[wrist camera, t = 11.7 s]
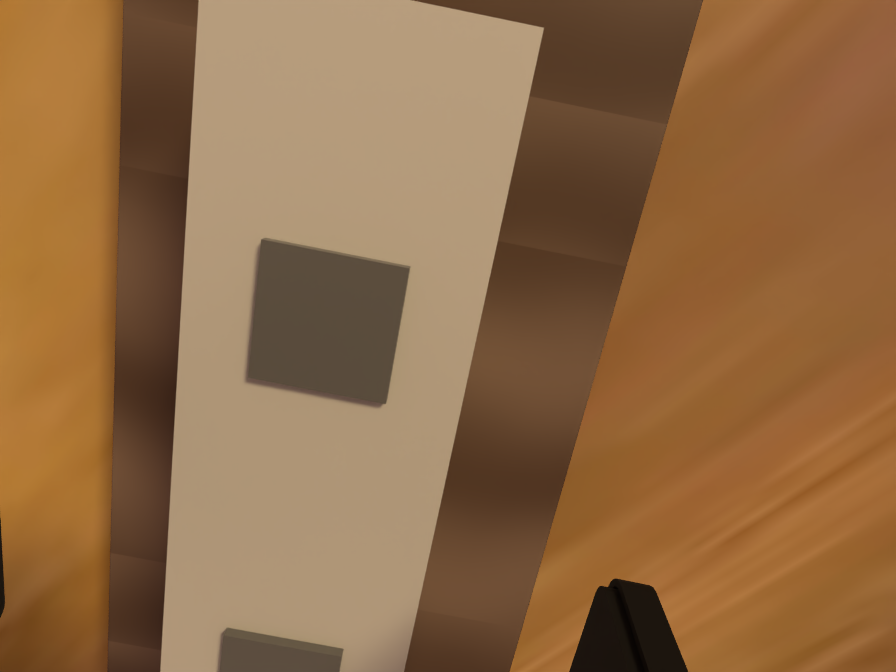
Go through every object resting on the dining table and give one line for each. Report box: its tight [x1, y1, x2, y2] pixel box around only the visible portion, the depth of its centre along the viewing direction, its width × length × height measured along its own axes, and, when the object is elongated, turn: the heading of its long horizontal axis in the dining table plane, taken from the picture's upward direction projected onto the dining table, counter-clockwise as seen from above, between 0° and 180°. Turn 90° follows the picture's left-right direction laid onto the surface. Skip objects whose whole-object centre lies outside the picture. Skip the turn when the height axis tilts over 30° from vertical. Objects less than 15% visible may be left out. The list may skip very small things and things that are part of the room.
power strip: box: [160, 0, 544, 672], centre depth 14 cm, size 5×18×7 cm, turn 169°
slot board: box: [108, 0, 703, 672], centre depth 16 cm, size 24×12×2 cm, turn 169°
